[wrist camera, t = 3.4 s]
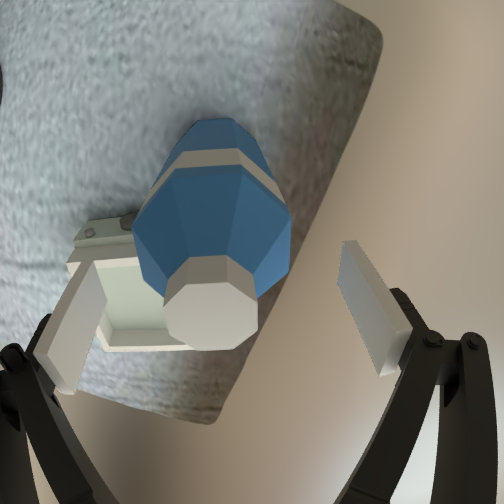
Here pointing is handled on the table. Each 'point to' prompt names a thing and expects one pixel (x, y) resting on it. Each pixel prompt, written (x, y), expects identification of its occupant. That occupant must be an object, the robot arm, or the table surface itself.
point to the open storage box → (123, 288)
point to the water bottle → (213, 235)
